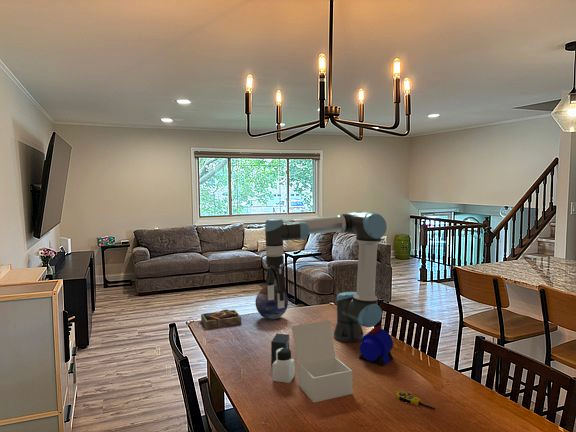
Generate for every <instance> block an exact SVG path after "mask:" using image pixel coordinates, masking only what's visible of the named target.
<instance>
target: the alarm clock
mask: <svg viewBox="0 0 576 432" xmlns="http://www.w3.org/2000/svg"><path fill="white" fill-rule="evenodd" d="M393 341H394V340H393V338H392V336H391V335H390V334H389V332H388V331H386V330H385V329H383V326H382V325H381V324H378V325H377V326H374V327H372V329H371V330H370V331H369V332H367V333H366V334H365V335H363V339H362V340H361V343H360V345H359V351H360V356H359V358H358V359H365V360H366V361H369V362H376V363H377V364H378V365H380V366H381V367H384V366H385V365H387V364H389V363H390V361H391V362H392V361H394V360H393V359H394V357H393V355H392V353H391V351H392V350H393V347H394V342H393Z"/></svg>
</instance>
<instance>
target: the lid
mask: <svg viewBox="0 0 576 432" xmlns="http://www.w3.org/2000/svg"><path fill="white" fill-rule="evenodd" d="M331 326H332V325H331V320H324V321H317V322H311V323H310V322H309V323H303V324H296V325H291V330H292V331H291V332H292V337H293V344H294V345H293V346H294V351H295V353H294V354H295V360H296V361H295V362H296V364H298V363H302V362H308V361H313V360H319V359H324V358H330V357H336V352H335V346H334V340H333V335H332V334H333V332H332V329H331V328H332V327H331Z"/></svg>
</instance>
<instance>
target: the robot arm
mask: <svg viewBox="0 0 576 432" xmlns="http://www.w3.org/2000/svg"><path fill="white" fill-rule="evenodd" d="M387 226H388V225H387V222H386V219H385V218H384V217H383V215H381V214H380V213H378V212H377V213H376V212H371V211H370V212H368V211H353V212H346V213H339V214H337V215H335V216H326V217H325V216H323V217H322V216H321V217H312V218H311V217H310V218H297V219H282V218H268V219H266V220H265V224H264V231H265V248H264V251H265V255H266V256H265V262H266V265H267V270H266V278H265V283H266V286H267V285H268V300H274V285H277V289H278V291H277V295H278V309H279V308H285V306H284V293H287V288H286V283H285V276H284V270H283V269H284V268H281V265H284V261H285V260H284V259H285V258H284V252H285V251H284V241H294V240H300V241H301V240H304V239H307V238H308V237H309V235H313V234H326V233H327V234H328V233H335V232H336V233H339V234H350V235H355V236H356V239H355V240H356V241H357V243H358V259H357V260H358V261H357V277H356V291H343V292H340V293H338V294H337V295H336V324H335V326H334V327H335V328H334V330H333V338H334V339H335V340H336V341H339V342H344V343H356V342H357V343H358V342H360V341H361V342H362V339H363V337H364V331H363V328H362V327H365V328H374V327H376V325H377V324H378V323H379V322H380V321H381V319H382V316H383V315H382V314H383V313H382V312H383V311H382V308H381V307H380V306H379V305H378V297H377V296H376V294H375V293H376V277H377V276H376V275H377V262H378V261H377V260H378V259H377V258H378V245H379V244H380V243H381V242H382V238H383V237H384V236H385V234H386V232H387V228H388V227H387ZM281 289H282V290H281Z"/></svg>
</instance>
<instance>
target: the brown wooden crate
mask: <svg viewBox="0 0 576 432" xmlns="http://www.w3.org/2000/svg"><path fill="white" fill-rule="evenodd" d="M214 312H215V313H212V312H211V313H212V314H207V315H205V316H206V317H207V321H209V320H219V319H225V318H232V317H237V314H239V312H237V313H235V312H232V311H230V309H223V310H219V311H214ZM217 326H218V323H217Z"/></svg>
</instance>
